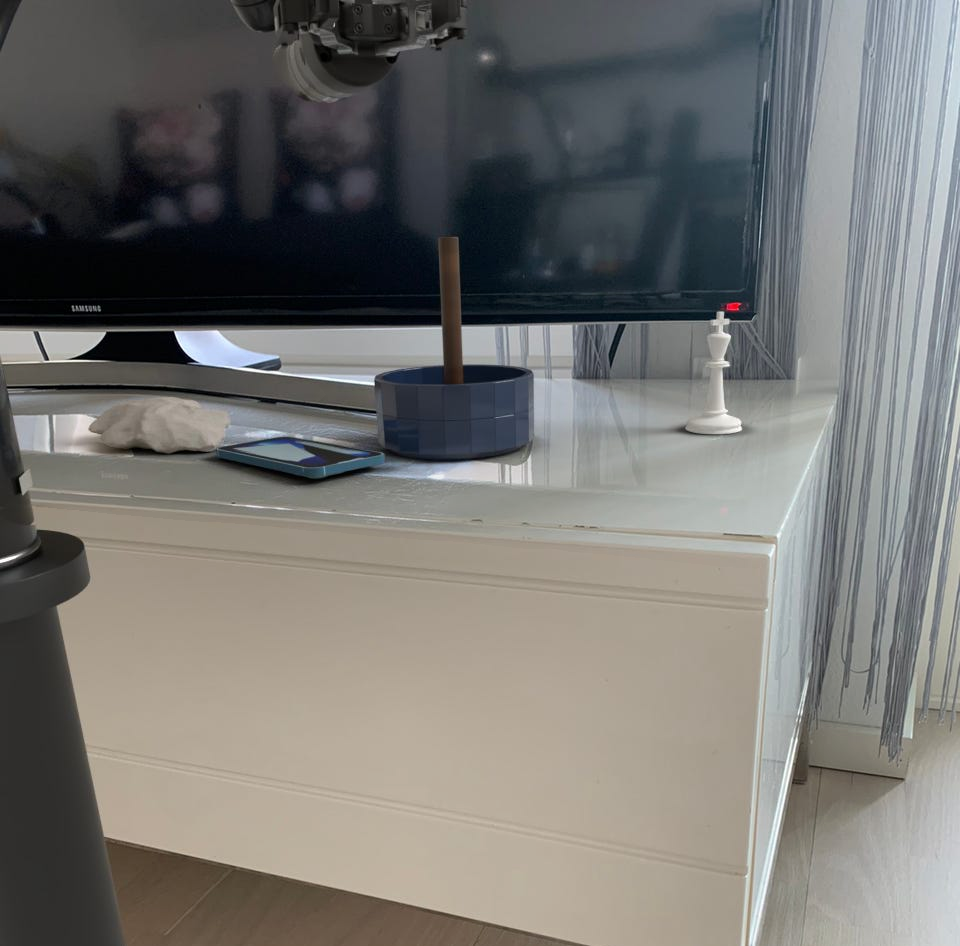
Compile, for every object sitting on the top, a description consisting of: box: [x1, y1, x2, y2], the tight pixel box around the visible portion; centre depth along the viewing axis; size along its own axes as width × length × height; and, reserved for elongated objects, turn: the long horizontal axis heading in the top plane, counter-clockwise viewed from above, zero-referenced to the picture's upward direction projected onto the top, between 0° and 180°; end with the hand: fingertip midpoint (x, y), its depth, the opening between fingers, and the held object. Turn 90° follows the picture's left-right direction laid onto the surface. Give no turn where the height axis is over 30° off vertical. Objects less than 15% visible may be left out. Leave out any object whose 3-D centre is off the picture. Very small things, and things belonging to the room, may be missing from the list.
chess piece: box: [684, 311, 743, 435], centre depth 86 cm, size 5×5×10 cm
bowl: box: [373, 363, 535, 461], centre depth 83 cm, size 13×13×6 cm
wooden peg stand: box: [437, 236, 464, 385], centre depth 81 cm, size 6×6×16 cm
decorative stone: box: [88, 396, 231, 454], centre depth 89 cm, size 11×4×15 cm
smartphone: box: [215, 436, 386, 480], centre depth 79 cm, size 7×1×15 cm
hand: (394, 1), depth 69 cm, fingers open, 8 cm apart
